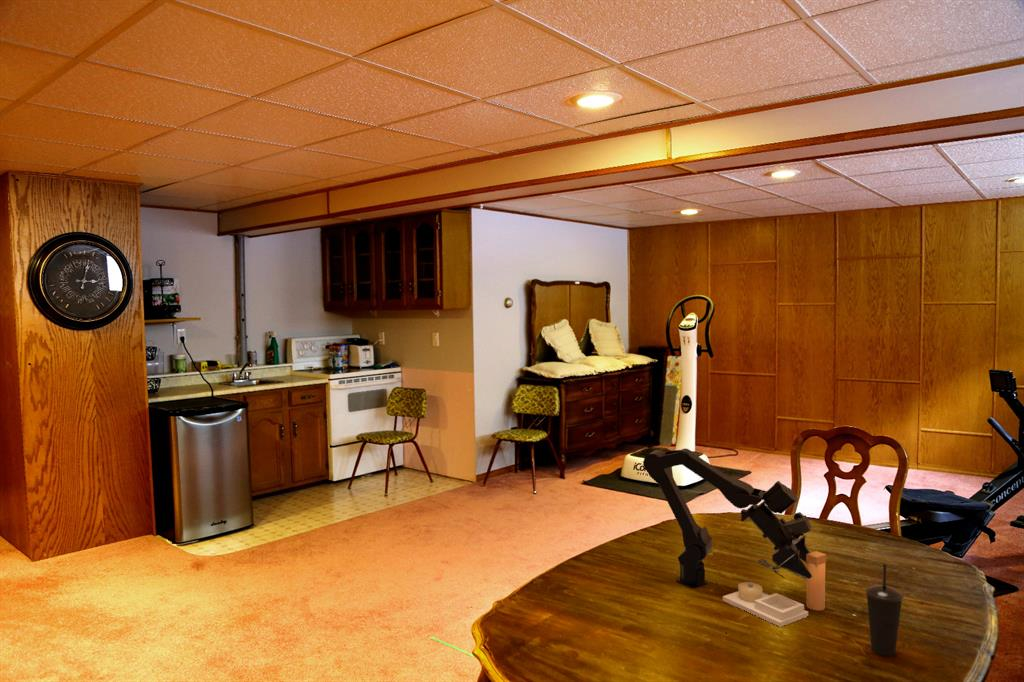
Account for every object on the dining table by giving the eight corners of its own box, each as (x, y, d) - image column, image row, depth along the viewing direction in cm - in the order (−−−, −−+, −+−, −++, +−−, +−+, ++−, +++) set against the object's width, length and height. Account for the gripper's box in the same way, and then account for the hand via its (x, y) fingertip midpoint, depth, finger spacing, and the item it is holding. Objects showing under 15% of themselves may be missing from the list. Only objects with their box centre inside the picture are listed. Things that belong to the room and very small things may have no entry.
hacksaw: (756, 562, 214) (756, 558, 214) (785, 559, 217) (785, 554, 217) (807, 594, 191) (807, 589, 191) (839, 590, 193) (839, 585, 193)
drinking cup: (857, 643, 163) (859, 559, 161) (888, 641, 163) (890, 558, 162) (877, 660, 155) (879, 572, 154) (909, 658, 156) (911, 570, 154)
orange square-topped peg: (802, 605, 183) (803, 553, 182) (813, 601, 185) (814, 550, 184) (817, 611, 179) (818, 558, 178) (828, 607, 181) (829, 555, 181)
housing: (722, 600, 186) (722, 581, 186) (750, 591, 192) (750, 573, 192) (779, 627, 171) (780, 606, 171) (808, 616, 177) (808, 596, 176)
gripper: (786, 515, 176) (833, 565, 171) (796, 496, 192) (840, 542, 187) (753, 540, 180) (798, 591, 175) (766, 521, 196) (808, 566, 191)
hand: (813, 571), depth 182 cm, fingers open, 9 cm apart
